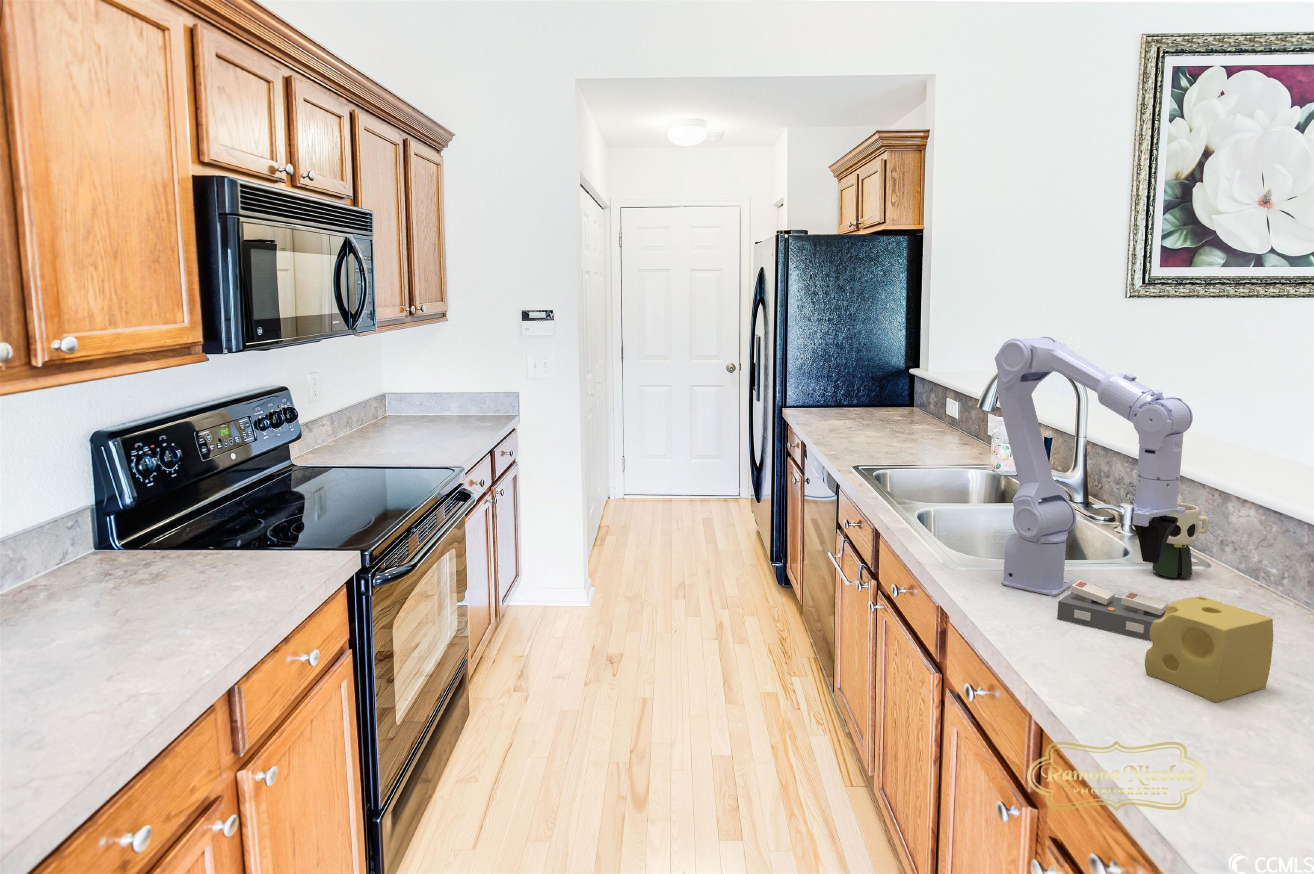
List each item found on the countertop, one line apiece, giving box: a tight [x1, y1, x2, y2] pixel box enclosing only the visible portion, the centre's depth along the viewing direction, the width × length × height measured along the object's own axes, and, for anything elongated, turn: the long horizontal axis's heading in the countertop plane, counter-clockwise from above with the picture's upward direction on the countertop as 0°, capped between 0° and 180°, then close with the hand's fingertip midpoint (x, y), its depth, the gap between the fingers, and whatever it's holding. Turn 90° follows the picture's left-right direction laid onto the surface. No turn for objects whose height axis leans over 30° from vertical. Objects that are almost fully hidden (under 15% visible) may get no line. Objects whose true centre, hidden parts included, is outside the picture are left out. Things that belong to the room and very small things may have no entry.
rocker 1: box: [1069, 580, 1116, 605], centre depth 139 cm, size 6×4×1 cm, turn 46°
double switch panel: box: [1057, 591, 1166, 642], centre depth 136 cm, size 15×8×4 cm, turn 45°
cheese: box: [1144, 595, 1274, 703], centre depth 115 cm, size 10×11×10 cm
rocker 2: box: [1121, 591, 1169, 615], centre depth 133 cm, size 6×4×1 cm, turn 46°
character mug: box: [1151, 502, 1209, 578], centre depth 158 cm, size 11×7×13 cm, turn 82°
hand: (1151, 561), depth 137 cm, fingers closed
